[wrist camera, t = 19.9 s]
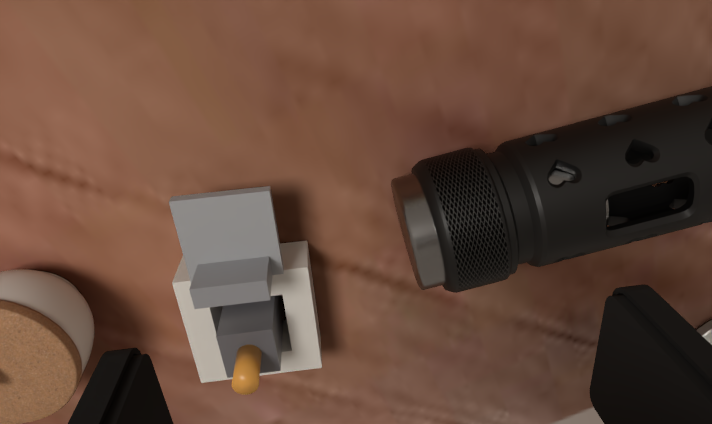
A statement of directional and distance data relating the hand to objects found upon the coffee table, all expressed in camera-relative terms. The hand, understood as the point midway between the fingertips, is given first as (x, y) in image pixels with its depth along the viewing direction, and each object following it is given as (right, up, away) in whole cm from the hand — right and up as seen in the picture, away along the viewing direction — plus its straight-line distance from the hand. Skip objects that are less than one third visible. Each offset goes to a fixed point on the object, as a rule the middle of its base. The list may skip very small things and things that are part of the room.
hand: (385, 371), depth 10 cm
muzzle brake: (+16, +8, +30) cm, 35 cm away
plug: (-9, -4, +33) cm, 34 cm away
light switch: (-9, -4, +33) cm, 34 cm away
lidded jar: (-26, -4, +31) cm, 41 cm away
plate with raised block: (-9, +2, +25) cm, 27 cm away
